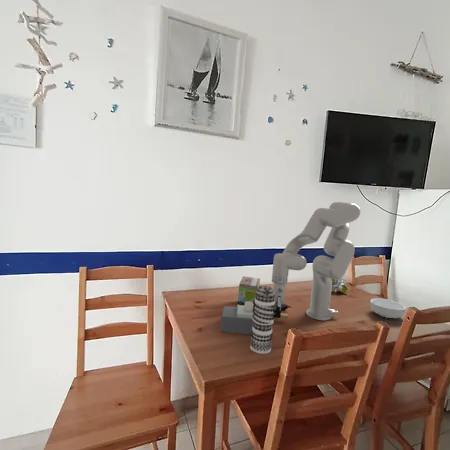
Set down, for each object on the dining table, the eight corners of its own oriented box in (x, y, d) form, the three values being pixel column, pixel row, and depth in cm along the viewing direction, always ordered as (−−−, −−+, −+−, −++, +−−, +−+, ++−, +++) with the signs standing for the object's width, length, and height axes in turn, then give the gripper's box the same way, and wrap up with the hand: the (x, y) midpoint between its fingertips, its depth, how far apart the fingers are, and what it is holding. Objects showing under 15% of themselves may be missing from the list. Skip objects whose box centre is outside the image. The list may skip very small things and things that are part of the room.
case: (258, 323, 142) (260, 309, 141) (259, 335, 131) (260, 320, 130) (223, 320, 143) (224, 306, 142) (220, 331, 132) (221, 316, 131)
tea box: (255, 314, 153) (258, 286, 151) (236, 311, 155) (238, 283, 153) (258, 303, 168) (260, 277, 166) (240, 300, 170) (242, 275, 168)
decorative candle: (260, 356, 114) (265, 293, 111) (244, 345, 121) (249, 286, 118) (276, 350, 120) (282, 290, 116) (261, 340, 127) (266, 283, 124)
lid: (259, 310, 140) (259, 300, 140) (259, 319, 130) (260, 308, 130) (237, 308, 141) (238, 297, 141) (236, 317, 131) (237, 306, 131)
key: (286, 320, 148) (287, 313, 148) (287, 322, 146) (288, 316, 145) (264, 317, 149) (265, 311, 149) (264, 319, 147) (265, 313, 146)
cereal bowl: (404, 315, 166) (405, 302, 165) (404, 326, 151) (406, 312, 150) (370, 307, 174) (371, 295, 173) (367, 316, 160) (369, 304, 159)
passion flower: (330, 301, 196) (320, 282, 199) (339, 294, 204) (329, 276, 207) (345, 296, 187) (334, 276, 190) (355, 289, 195) (344, 270, 198)
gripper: (289, 285, 136) (286, 323, 138) (285, 275, 153) (282, 309, 155) (273, 284, 137) (269, 322, 139) (270, 273, 154) (267, 307, 156)
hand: (276, 314), depth 147 cm, fingers open, 4 cm apart
